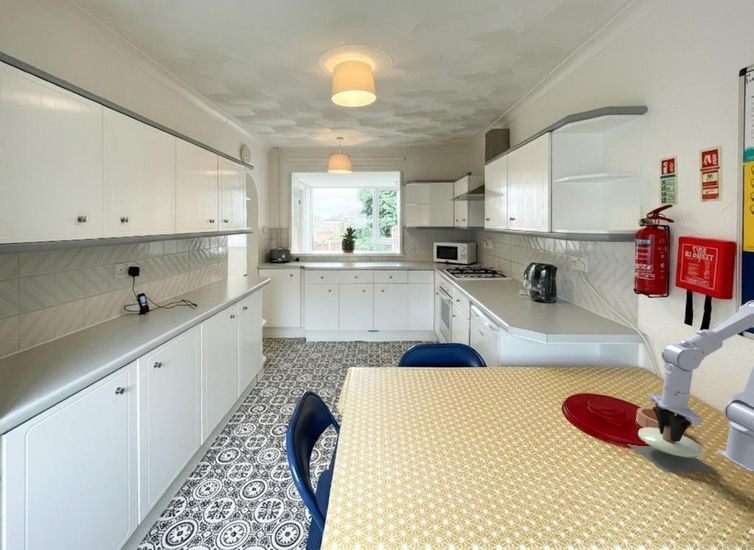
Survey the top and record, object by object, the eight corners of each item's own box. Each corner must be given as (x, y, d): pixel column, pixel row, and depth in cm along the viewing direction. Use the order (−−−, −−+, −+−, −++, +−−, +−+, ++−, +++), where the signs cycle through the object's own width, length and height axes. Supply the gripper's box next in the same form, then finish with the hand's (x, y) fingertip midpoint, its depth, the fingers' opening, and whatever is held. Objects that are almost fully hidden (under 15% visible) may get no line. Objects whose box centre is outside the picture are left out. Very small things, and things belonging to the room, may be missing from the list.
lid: (716, 457, 100) (719, 441, 99) (667, 457, 98) (669, 441, 98) (670, 430, 114) (672, 416, 113) (626, 429, 112) (628, 415, 112)
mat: (717, 473, 100) (717, 471, 100) (664, 473, 98) (664, 471, 98) (668, 442, 115) (668, 440, 114) (621, 441, 113) (621, 440, 113)
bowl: (693, 439, 117) (695, 425, 117) (656, 439, 116) (658, 425, 115) (660, 420, 129) (662, 407, 128) (627, 420, 128) (628, 407, 127)
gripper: (641, 379, 111) (636, 424, 113) (686, 400, 97) (679, 452, 98) (664, 379, 112) (658, 424, 113) (712, 401, 98) (704, 452, 99)
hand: (669, 437), depth 106 cm, fingers closed on lid, 3 cm apart
